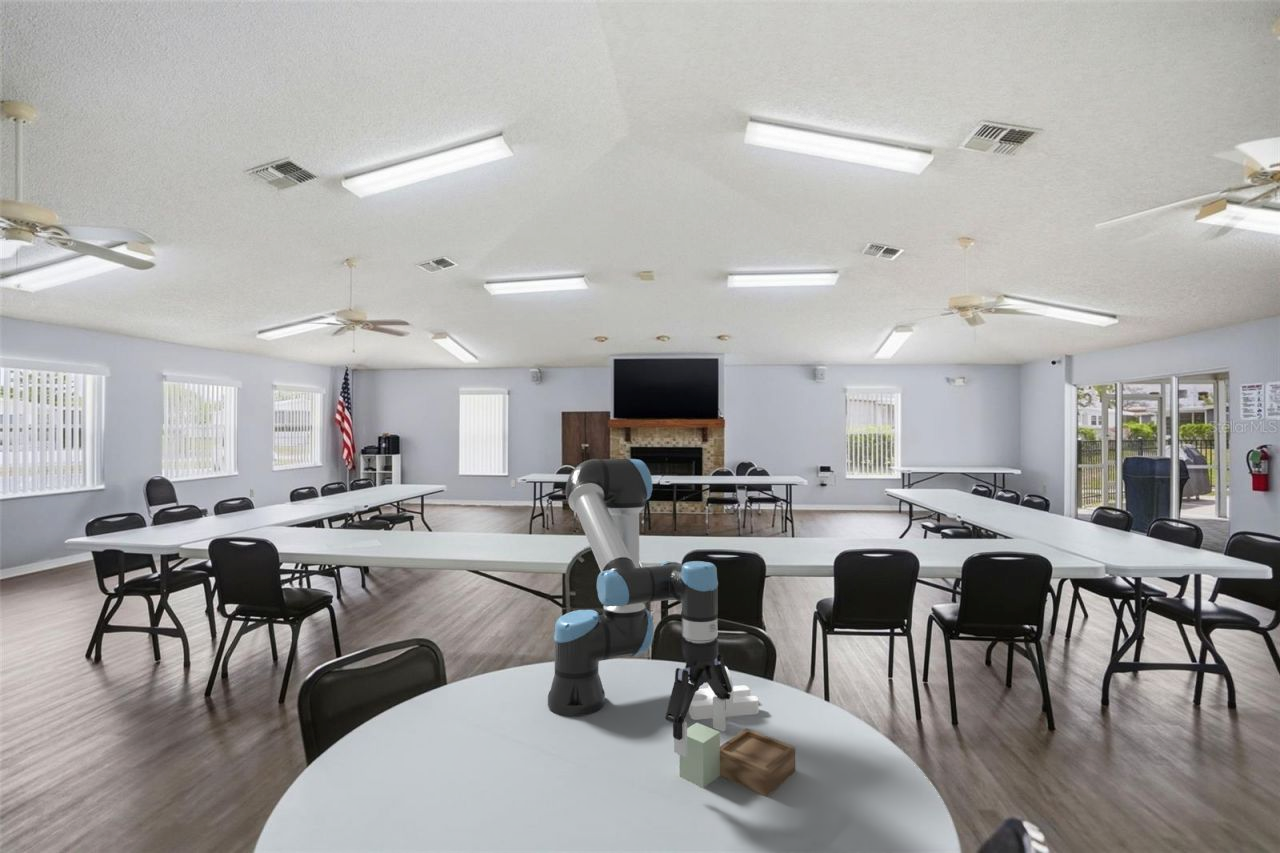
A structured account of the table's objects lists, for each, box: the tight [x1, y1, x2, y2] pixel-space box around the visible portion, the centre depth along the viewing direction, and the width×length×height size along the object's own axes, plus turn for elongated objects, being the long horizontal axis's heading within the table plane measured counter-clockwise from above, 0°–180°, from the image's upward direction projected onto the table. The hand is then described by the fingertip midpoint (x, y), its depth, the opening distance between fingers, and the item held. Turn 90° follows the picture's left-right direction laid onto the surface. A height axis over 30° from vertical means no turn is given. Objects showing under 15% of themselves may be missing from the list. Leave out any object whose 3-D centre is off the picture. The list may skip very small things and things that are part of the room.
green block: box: [679, 722, 721, 789], centre depth 121 cm, size 6×6×9 cm
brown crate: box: [720, 728, 796, 798], centre depth 122 cm, size 12×12×5 cm
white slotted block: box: [688, 665, 760, 721], centre depth 151 cm, size 10×18×11 cm, turn 101°
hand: (700, 741), depth 121 cm, fingers open, 13 cm apart
